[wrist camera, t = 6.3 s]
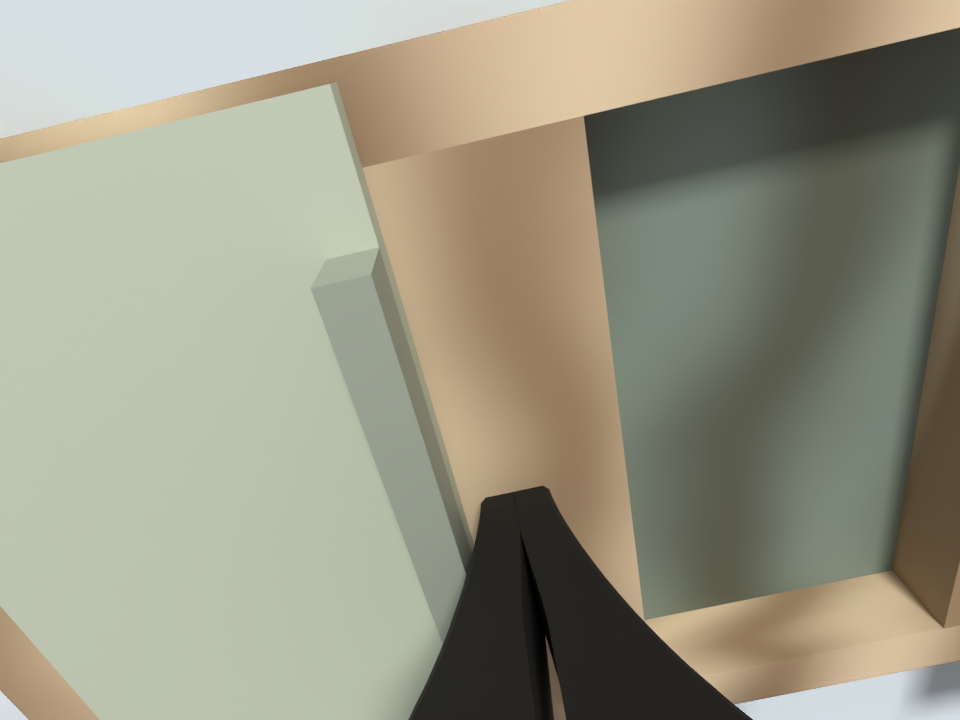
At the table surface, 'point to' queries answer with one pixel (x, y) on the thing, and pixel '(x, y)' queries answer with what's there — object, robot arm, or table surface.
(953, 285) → the wooden frame
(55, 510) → the lid
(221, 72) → the table surface
